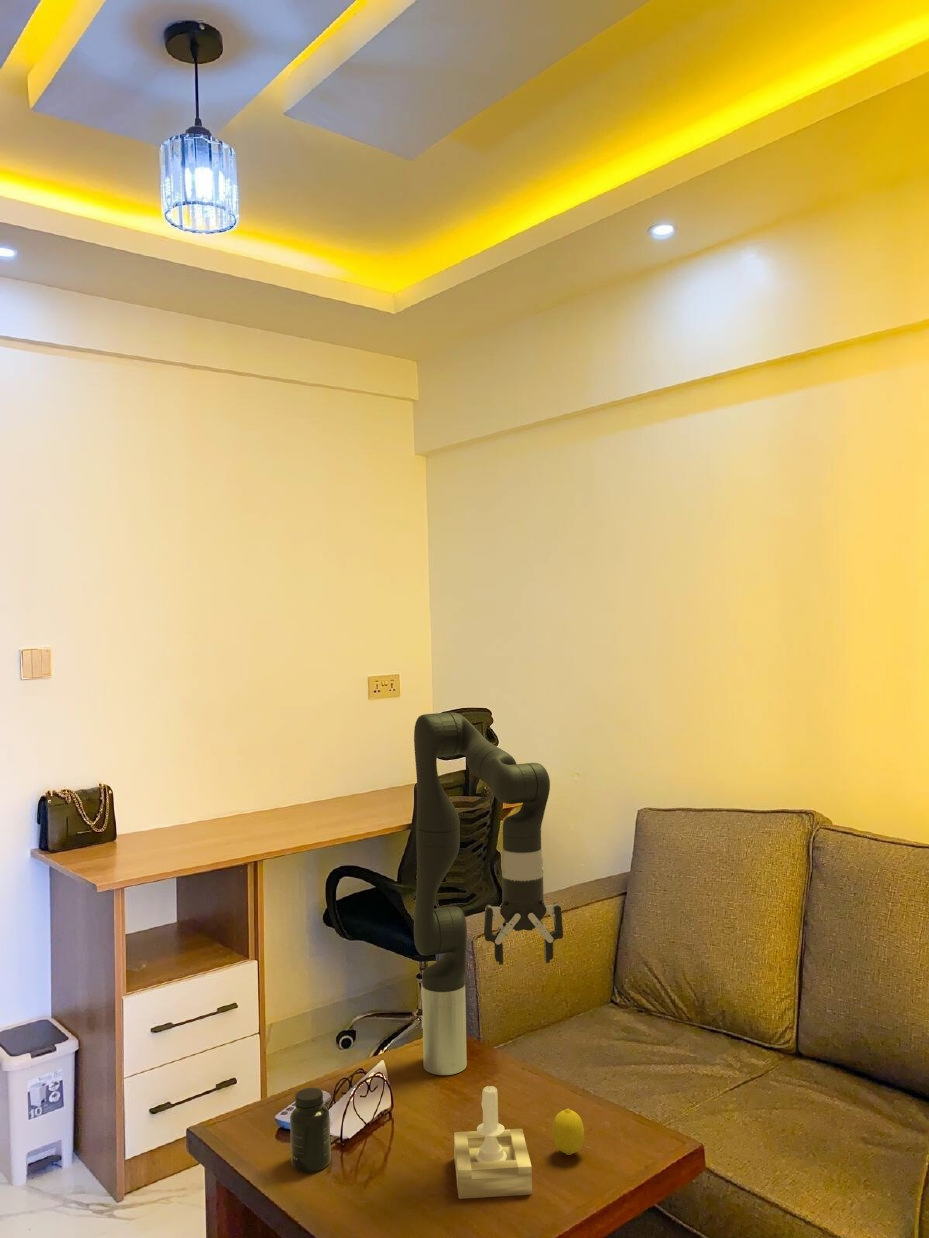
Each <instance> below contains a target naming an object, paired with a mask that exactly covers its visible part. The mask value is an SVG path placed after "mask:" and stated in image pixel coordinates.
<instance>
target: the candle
mask: <svg viewBox="0 0 929 1238" xmlns="http://www.w3.org/2000/svg"><path fill="white" fill-rule="evenodd" d="M498 1095H499V1094H498V1089H497V1087H495V1086H493V1085H491V1086H490V1085H487V1086H484V1088H483V1089H482V1094H481V1103H480V1105H481V1108H482V1123H480V1124H478V1125H477V1126H476V1131H477V1132H478V1133H479V1134H481V1135H483V1136H485V1140H484V1142H483V1144H482V1145H481V1146H480V1149H479V1151H478V1152H477V1153H476V1155H475V1158H476V1160H477V1161H478V1162H487V1161H505V1160H506V1159H507V1154H506V1153H505V1152H504V1151H503V1149H502V1146H501V1145H500V1144H499V1143H498V1141H497V1138H496V1136H498V1135H500V1134H502V1133H503V1132H504V1130H506V1129H505V1126H504V1125H503V1124H501V1123H499V1109H498V1108H499V1105H498V1104H499V1101H498V1100H499V1099H498Z"/></svg>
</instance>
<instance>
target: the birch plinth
mask: <svg viewBox="0 0 929 1238" xmlns="http://www.w3.org/2000/svg"><path fill="white" fill-rule="evenodd" d="M523 1131H524V1130H523V1128H513V1129H512V1128H510V1129H509V1128H508V1129H505V1130H504V1132H503V1133H502V1134H500V1135H498V1136H496V1138H497V1141H498V1143H499V1144H500V1145H501V1146H502V1149H503V1151H504V1152H505V1153H506V1154H507V1159H506V1160H505V1161H487V1162H478V1161H477V1160H476V1158H475V1155H476V1153H477V1152H478V1151H479V1149H480V1146H481V1145H482V1144H483V1142H484V1140H485V1136H483V1135H481V1134H479V1133H478V1132H477V1130H475V1131H473V1130H472V1131H471V1130H469V1131H457V1132H456V1131H454V1132H453V1149H454V1151H453V1153H454V1166H455V1167H454V1168H455V1178H456V1187H457V1194H458V1195H457V1196H458V1200H459V1199H461V1200H463V1199H477V1198H478V1199H479V1198H493V1197H494V1198H496V1197H497V1198H498V1197H511V1196H512V1197H514V1196H528V1195H529V1196H530V1195H533V1183H532V1182H533V1180H532V1179H533V1173H532V1172H533V1171H532V1170H533V1169H532V1167H533V1166H532V1164H531V1163H532V1162H531V1158H530V1155H529V1150H528V1147H527V1142H526V1139H525V1135H524V1132H523Z"/></svg>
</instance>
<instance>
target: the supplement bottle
mask: <svg viewBox="0 0 929 1238" xmlns="http://www.w3.org/2000/svg"><path fill="white" fill-rule="evenodd" d="M294 1096H295V1097H294V1108H293V1110H292V1111H291V1113H290V1116H289V1127H290V1128H289V1129H290V1131H289V1132H290V1159H291V1166H292V1167H293V1168H294V1170H295V1171H296V1172H300V1173H303V1174H310V1173H316V1172H319V1171H321V1170H323V1169H325V1168H326V1167H327V1166H328V1165H329V1164H330V1162H331V1157H332V1156H331V1155H332V1154H331V1149H332V1148H331V1126H330V1125H331V1124H330V1123H331V1121H330V1119H331V1118H330V1116H331V1115H330V1111H329V1109H328V1107H327V1106H326V1105H325V1104H324V1101H325V1100H324V1092H323V1090H322V1089H320V1088H317V1087H305V1088H303V1089H300V1090H299V1091H297V1092H296V1094H295V1095H294Z"/></svg>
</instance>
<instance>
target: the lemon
mask: <svg viewBox="0 0 929 1238" xmlns="http://www.w3.org/2000/svg"><path fill="white" fill-rule="evenodd" d="M584 1128H585V1127H584V1123H583V1121H582V1118H581V1116H580V1114H578V1113H577V1112H575V1111H574V1110H572V1109H570V1108H566V1109H563V1110H561V1111H560V1112H558V1113H557V1114H556V1116H555V1117H554V1120H553V1122H552V1139H553V1142H554V1145H555V1147H556V1148H557V1149H558V1150H559V1151H560V1152H562V1154H563V1153H564V1154H565V1155H570V1156H571V1155H572V1154H575V1153H577V1152H578V1151H579V1150H580V1149H581V1148H582V1146H583V1144H584V1139H585V1129H584Z"/></svg>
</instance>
